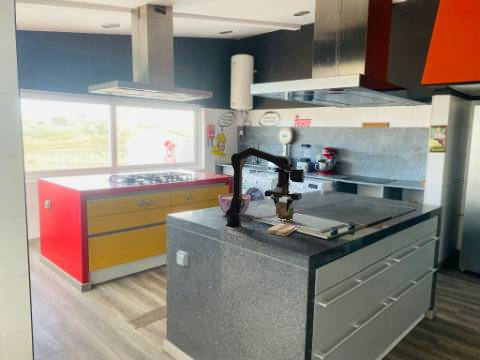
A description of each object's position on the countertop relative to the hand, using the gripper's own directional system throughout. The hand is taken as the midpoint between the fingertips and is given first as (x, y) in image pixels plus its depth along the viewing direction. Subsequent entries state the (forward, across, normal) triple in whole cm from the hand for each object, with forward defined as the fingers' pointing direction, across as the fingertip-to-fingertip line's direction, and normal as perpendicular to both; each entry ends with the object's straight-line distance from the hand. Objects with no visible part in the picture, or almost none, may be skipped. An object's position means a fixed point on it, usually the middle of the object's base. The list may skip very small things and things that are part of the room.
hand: (282, 211), depth 192 cm
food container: (+11, -9, +22) cm, 26 cm away
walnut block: (+2, 0, 0) cm, 2 cm away
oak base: (+11, 0, 0) cm, 11 cm away
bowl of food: (+11, -39, +17) cm, 44 cm away
